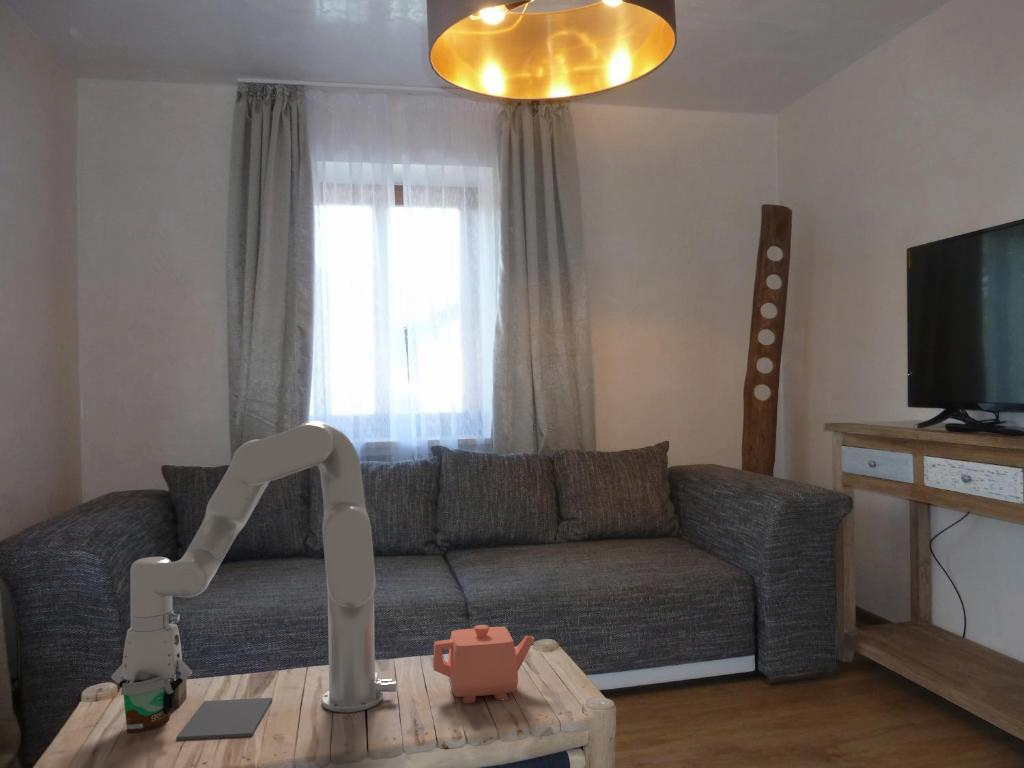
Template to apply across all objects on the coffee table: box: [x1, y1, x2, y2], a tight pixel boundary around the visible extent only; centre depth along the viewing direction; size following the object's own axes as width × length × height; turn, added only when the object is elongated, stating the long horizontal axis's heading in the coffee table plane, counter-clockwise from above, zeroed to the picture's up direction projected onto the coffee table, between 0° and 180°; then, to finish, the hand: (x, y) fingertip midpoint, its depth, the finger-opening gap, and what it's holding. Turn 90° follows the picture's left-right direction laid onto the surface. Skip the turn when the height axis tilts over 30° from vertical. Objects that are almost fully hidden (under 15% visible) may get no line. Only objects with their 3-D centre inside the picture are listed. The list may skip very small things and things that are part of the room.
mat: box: [176, 697, 273, 741], centre depth 149 cm, size 14×16×1 cm
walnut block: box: [173, 679, 188, 709], centre depth 157 cm, size 4×4×4 cm
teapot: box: [432, 624, 535, 704], centre depth 161 cm, size 22×13×14 cm, turn 101°
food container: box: [120, 674, 177, 734], centre depth 148 cm, size 12×6×10 cm, turn 171°
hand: (152, 711), depth 148 cm, fingers closed on food container, 5 cm apart
